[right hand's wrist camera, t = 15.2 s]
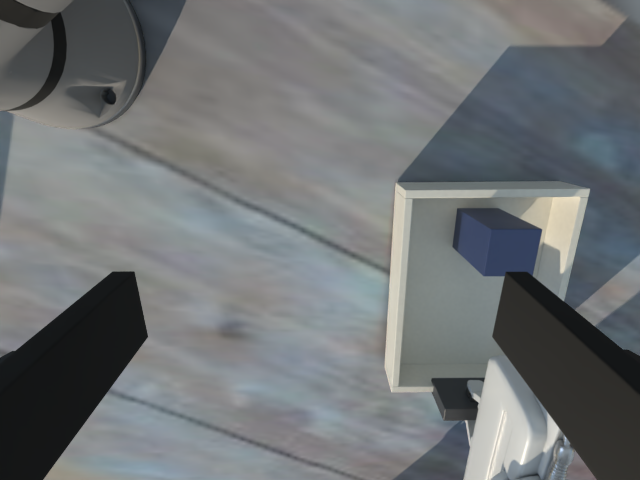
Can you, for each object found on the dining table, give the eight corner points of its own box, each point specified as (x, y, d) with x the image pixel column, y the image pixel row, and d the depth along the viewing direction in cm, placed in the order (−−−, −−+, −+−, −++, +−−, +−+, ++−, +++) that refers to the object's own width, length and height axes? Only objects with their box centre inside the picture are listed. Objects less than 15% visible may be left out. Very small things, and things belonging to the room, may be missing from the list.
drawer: (395, 182, 38) (415, 198, 30) (559, 181, 38) (623, 196, 30) (384, 369, 46) (398, 421, 38) (521, 368, 46) (564, 420, 38)
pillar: (457, 207, 38) (491, 229, 31) (498, 207, 38) (542, 229, 31) (452, 247, 40) (483, 276, 32) (492, 247, 40) (532, 276, 32)
